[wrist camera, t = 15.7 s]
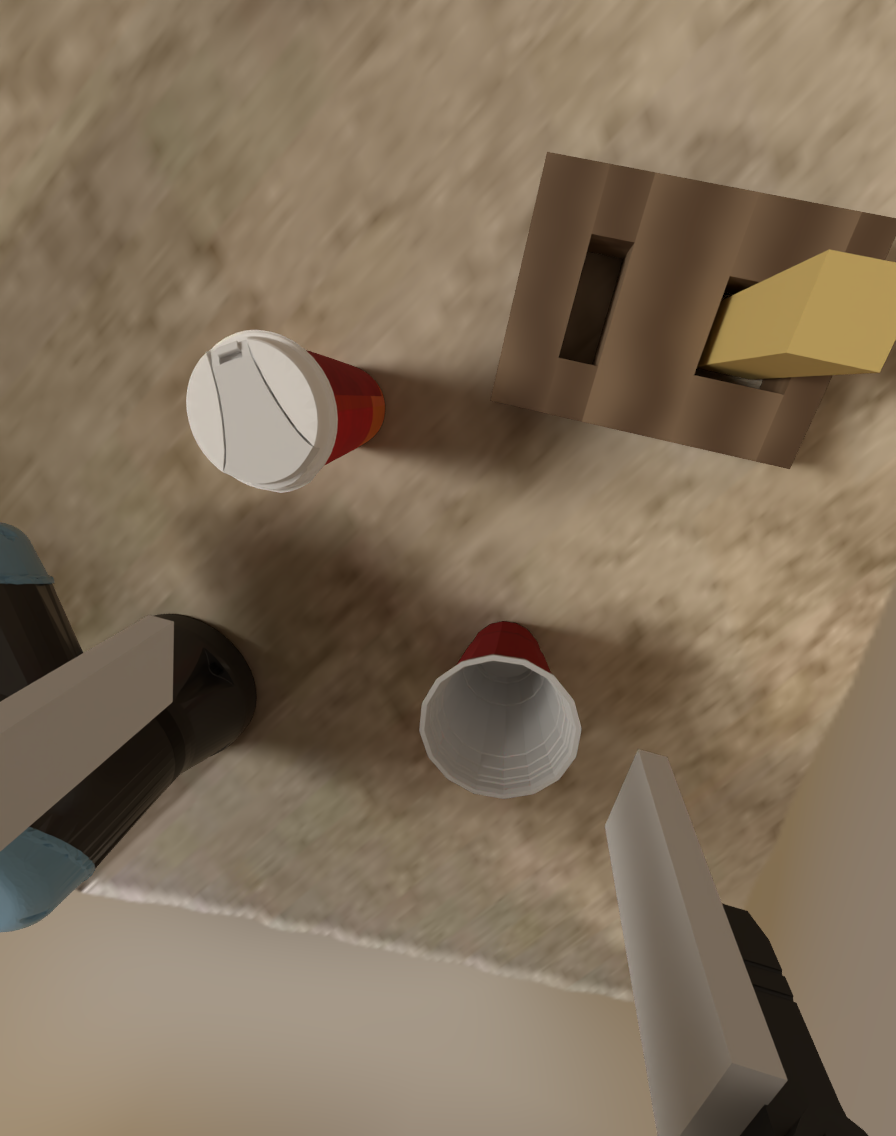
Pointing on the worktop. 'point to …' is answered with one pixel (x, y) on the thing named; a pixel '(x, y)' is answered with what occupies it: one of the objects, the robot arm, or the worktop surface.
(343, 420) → the coffee cup
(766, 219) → the socket block
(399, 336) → the worktop surface
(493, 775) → the plastic cup
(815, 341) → the square peg
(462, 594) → the worktop surface
